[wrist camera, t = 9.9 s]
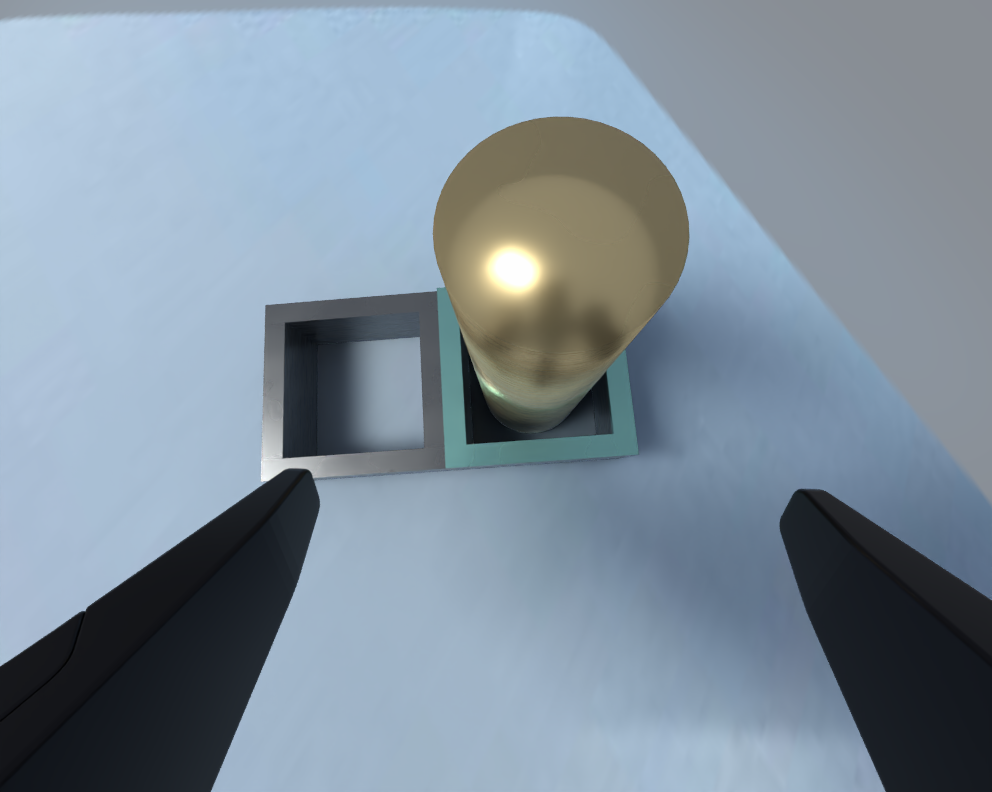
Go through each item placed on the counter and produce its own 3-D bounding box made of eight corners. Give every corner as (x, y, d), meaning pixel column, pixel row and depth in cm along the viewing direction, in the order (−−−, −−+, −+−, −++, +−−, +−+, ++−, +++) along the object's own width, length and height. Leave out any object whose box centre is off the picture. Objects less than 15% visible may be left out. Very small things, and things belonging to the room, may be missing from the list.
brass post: (590, 417, 20) (729, 306, 7) (498, 445, 20) (472, 383, 7) (560, 330, 21) (637, 89, 8) (472, 356, 21) (405, 155, 8)
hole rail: (599, 305, 21) (615, 273, 18) (617, 458, 19) (639, 454, 16) (300, 329, 21) (261, 302, 18) (298, 481, 20) (256, 481, 17)
